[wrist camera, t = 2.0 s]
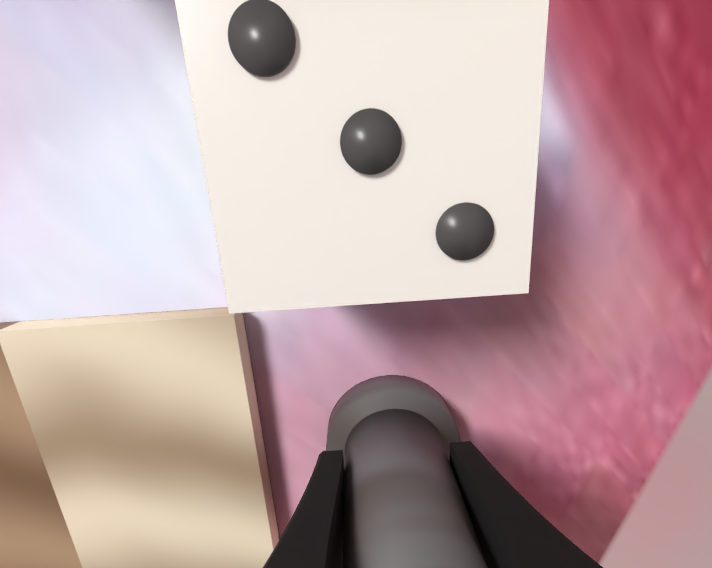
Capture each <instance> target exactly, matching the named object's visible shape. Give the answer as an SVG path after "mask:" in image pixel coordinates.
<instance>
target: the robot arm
mask: <svg viewBox="0 0 712 568" xmlns="http://www.w3.org/2000/svg"><path fill="white" fill-rule="evenodd" d="M450 464H451V467H452V470H453V472H454V475H455V478H456V481H457V483H458V486H459V489H460V491H461V494H462V497H463V500H464V502H465V505H466V508H467V511H468V513H469V516H470V519H471V522H472V524H473V527H474V530H475V533H476V535H477V538H478V541H479V544H480V546H481V549H482V552H483V554H484V557H485V560H486V563H487V565H488V568H603V567H602V566H600V565H599V564H598V563H597V562H595V561H594V560H593V559H592V558H590V557H589V556H588V555H587V554H585V553H584V552H583V551H582V550H580V549H579V548H578V547H577V546H576V545H575V544H573V543H572V542H571V541H570V540H569V539H568V538H566V537H565V536H564V535H563V534H562V533H561V532H560V531H558V530H557V529H556V528H555V527H554V526H553V525H552V524H551V523H550V522H549V521H547V520H546V519H545V518H544V517H543V516H542V515H541V514H540V513H539V512H538V511H537V510H536V509H535V508H534V507H532V506H531V505H530V504H529V503H528V502H527V501H526V500H525V499H524V498H523V497H522V496H521V495H520V494H519V493H518V492H517V491H516V490H515V489H514V488H513V487H512V486H511V485H510V484H509V483H508V482H507V481H506V479H505V478H504V477H503V476H502V475H501V474H500V473H499V472H498V471H497V470H496V469H495V468H494V467H493V466H492V465H491V463H490V462H489V461H488V460H487V459H486V458H485V457H484V456H483V455H482V453H481V452H480V451H479V450H478V449H477V448H476V447H475V446H474V445H473V444H472V443H471V442H470V441H466V442H451V443H450ZM344 472H345V470H344V459H343V450H334V451H322V452H321V453H320V454H319V457H318V460H317V463H316V466H315V468H314V471H313V474H312V476H311V478H310V481H309V483H308V485H307V487H306V490H305V492H304V494H303V496H302V498H301V500H300V502H299V504H298V506H297V508H296V510H295V512H294V514H293V516H292V518H291V520H290V522H289V524H288V525H287V527H286V529H285V531H284V533H283V534H282V536H281V538H280V540H279V541H278V543H277V545H276V547H275V548H274V550H273V552H272V553H271V555H270V557H269V558H268V560H267V562H266V563H265V565H264V566H263V568H343V515H344Z"/></svg>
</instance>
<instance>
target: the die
mask: <svg viewBox="0 0 712 568" xmlns="http://www.w3.org/2000/svg"><path fill="white" fill-rule="evenodd" d="M175 4H176V10H177V16H178V22H179V28H180V33H181V39H182V45H183V51H184V56H185V62H186V68H187V74H188V80H189V85H190V91H191V97H192V103H193V109H194V114H195V120H196V126H197V132H198V137H199V143H200V149H201V155H202V161H203V166H204V172H205V178H206V184H207V190H208V195H209V201H210V207H211V213H212V218H213V224H214V230H215V236H216V242H217V247H218V253H219V259H220V265H221V271H222V276H223V282H224V288H225V294H226V299H227V305H228V311H229V314H230V313H245V312H259V311H274V310H289V309H303V308H318V307H333V306H348V305H362V304H377V303H392V302H406V301H421V300H436V299H450V298H465V297H480V296H494V295H509V294H524V293H529V280H530V265H531V251H532V237H533V222H534V208H535V193H536V179H537V165H538V150H539V136H540V121H541V107H542V92H543V78H544V64H545V49H546V35H547V20H548V6H549V0H175Z"/></svg>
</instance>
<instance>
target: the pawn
mask: <svg viewBox="0 0 712 568" xmlns="http://www.w3.org/2000/svg"><path fill="white" fill-rule="evenodd" d="M451 442H460V436H459V432H458V429H457V427H456V424H455V422H454V420H453V417H452V415H451V413H450V411H449V409H448V406H447V405H446V403H445V401H444V400H443V398H442V397H441V396H440V395H439V394H438V393H437V392H436V391H435V390H434V389H433V388H431V387H430V386H429V385H427V384H425V383H423V382H421V381H419V380H416V379H414V378H410V377H406V376H398V375H386V376H379V377H375V378H371V379H368V380H366V381H363V382H361V383H359V384H357V385H355V386H354V387H352V388H351V389H350V390H348V391H347V392H346V393H345V394H344V395H343V396H342V397H341V398H340V399H339V401H338V402H337V403H336V405H335V407H334V408H333V411H332V413H331V416H330V419H329V424H328V434H327V445H326V451H334V450H343V459H344V470H345V472H344V515H343V568H488V565H487V563H486V560H485V557H484V554H483V552H482V549H481V546H480V544H479V541H478V538H477V535H476V533H475V530H474V527H473V524H472V522H471V519H470V516H469V513H468V511H467V508H466V505H465V502H464V500H463V497H462V494H461V491H460V489H459V486H458V483H457V481H456V478H455V475H454V472H453V470H452V467H451V464H450V443H451Z"/></svg>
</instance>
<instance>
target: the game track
mask: <svg viewBox="0 0 712 568" xmlns="http://www.w3.org/2000/svg"><path fill="white" fill-rule="evenodd" d="M278 541H279V534H278V528H277V522H276V516H275V509H274V503H273V497H272V491H271V485H270V478H269V472H268V466H267V460H266V454H265V447H264V441H263V435H262V429H261V423H260V416H259V410H258V404H257V398H256V392H255V386H254V379H253V373H252V367H251V361H250V355H249V348H248V342H247V336H246V330H245V324H244V317H243V313H230V314H229V311H228V307H225V308H210V309H195V310H181V311H166V312H151V313H137V314H122V315H107V316H93V317H78V318H63V319H48V320H34V321H19V322H4V323H0V568H263V566H264V565H265V563H266V562H267V560H268V558H269V557H270V555H271V553H272V552H273V550H274V548H275V547H276V545H277V543H278Z"/></svg>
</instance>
